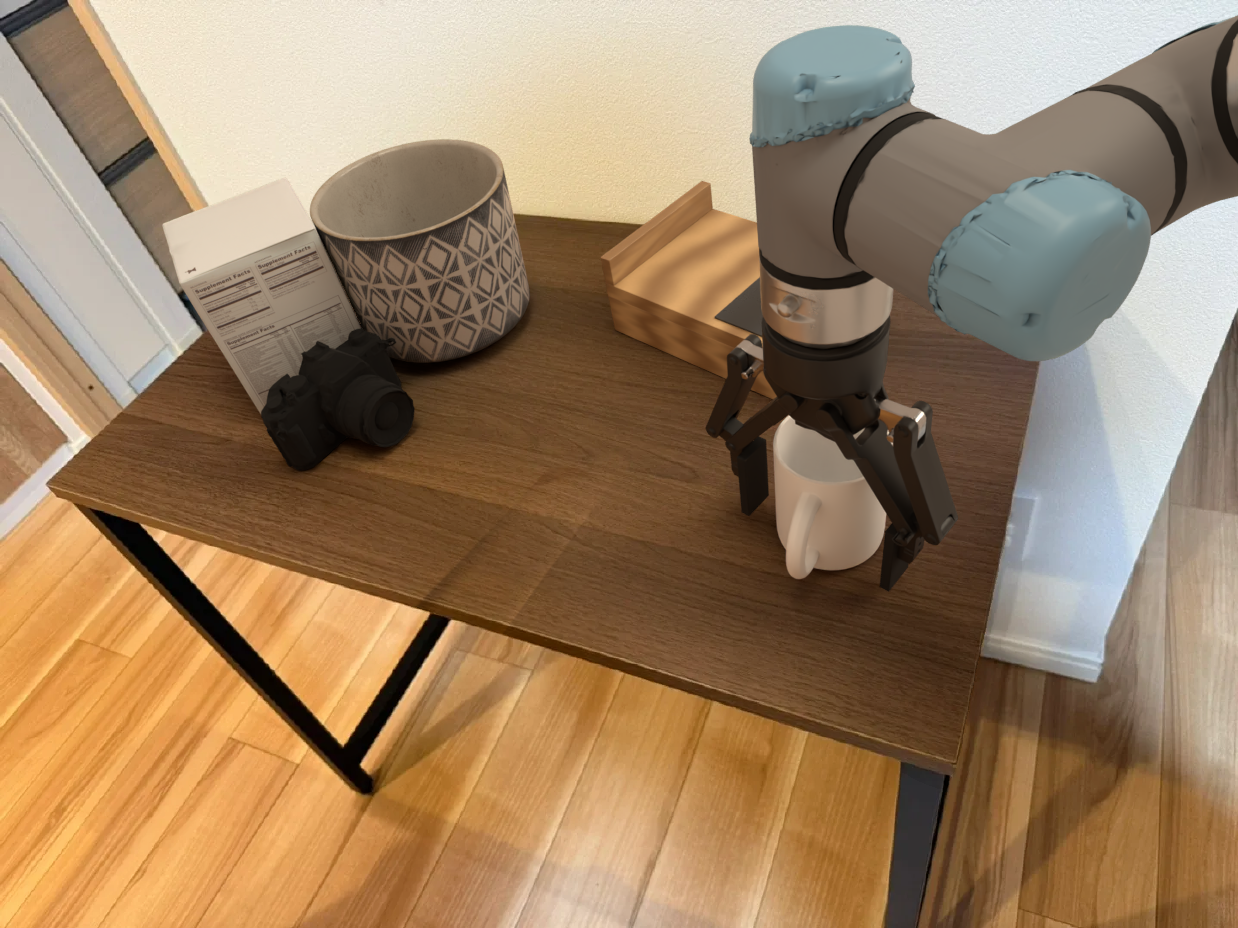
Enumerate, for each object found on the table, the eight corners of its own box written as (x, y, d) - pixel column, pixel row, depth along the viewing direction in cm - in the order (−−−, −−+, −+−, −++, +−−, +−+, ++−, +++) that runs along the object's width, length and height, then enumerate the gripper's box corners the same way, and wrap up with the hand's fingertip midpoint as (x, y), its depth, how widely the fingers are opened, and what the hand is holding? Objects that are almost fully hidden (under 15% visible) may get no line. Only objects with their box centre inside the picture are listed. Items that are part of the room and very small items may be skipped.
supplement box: (383, 371, 93) (317, 227, 80) (264, 424, 90) (176, 283, 77) (351, 312, 102) (286, 174, 89) (241, 358, 99) (158, 222, 86)
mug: (845, 628, 63) (849, 540, 56) (740, 589, 67) (731, 502, 59) (898, 510, 70) (908, 417, 62) (800, 481, 73) (799, 390, 66)
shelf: (883, 314, 86) (890, 235, 80) (791, 408, 79) (789, 329, 73) (708, 253, 98) (701, 180, 92) (614, 330, 91) (600, 257, 85)
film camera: (340, 499, 80) (300, 430, 74) (277, 463, 85) (234, 395, 79) (452, 399, 88) (424, 328, 81) (388, 371, 93) (357, 302, 86)
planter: (380, 400, 89) (319, 262, 77) (356, 302, 102) (301, 172, 90) (558, 342, 92) (525, 200, 80) (512, 254, 105) (478, 121, 93)
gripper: (633, 285, 57) (670, 502, 72) (990, 427, 44) (942, 654, 59) (705, 228, 60) (726, 447, 75) (1056, 344, 47) (994, 580, 62)
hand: (821, 539), depth 67 cm, fingers open, 12 cm apart
